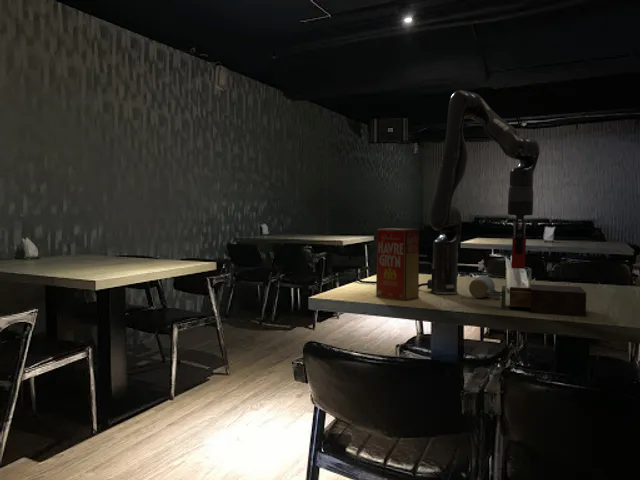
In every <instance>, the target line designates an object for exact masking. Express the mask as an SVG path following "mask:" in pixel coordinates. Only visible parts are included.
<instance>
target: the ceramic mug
mask: <svg viewBox="0 0 640 480" xmlns="http://www.w3.org/2000/svg"><path fill="white" fill-rule="evenodd" d="M468 285H469V286H468V290H469V293H470V295H471V296H472V297H474V298H475V299H485V298H486V297H487V296H486V291H487V290H490V291H497V290H496V289H495V288H496V285H495V282H494V280H493V279H492V278H491V277H490V276H488V275H485V274H484V275H483V274H482V275H479V276H477V277H476V278H474V279H473V280H472V281H471V282H470V283H469V284H468ZM492 294H500V293H492ZM488 298H491V299H493V300H500V299H501V296H491V295H490V296H489V297H488Z"/></svg>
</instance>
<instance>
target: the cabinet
mask: <svg viewBox="0 0 640 480" xmlns="http://www.w3.org/2000/svg"><path fill="white" fill-rule="evenodd" d="M529 288H530V289H531V308H529V310H530V313H535V314H550V315H563V316H575V317H577V316H579V317H586V316H587V292H586V291H585V289H583V288H582V287H581V286H572V285H571V286H570V285H569V286H568V285H553V284H552V285H549V284H535V283H534V284H532V283H530V284H529Z"/></svg>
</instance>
